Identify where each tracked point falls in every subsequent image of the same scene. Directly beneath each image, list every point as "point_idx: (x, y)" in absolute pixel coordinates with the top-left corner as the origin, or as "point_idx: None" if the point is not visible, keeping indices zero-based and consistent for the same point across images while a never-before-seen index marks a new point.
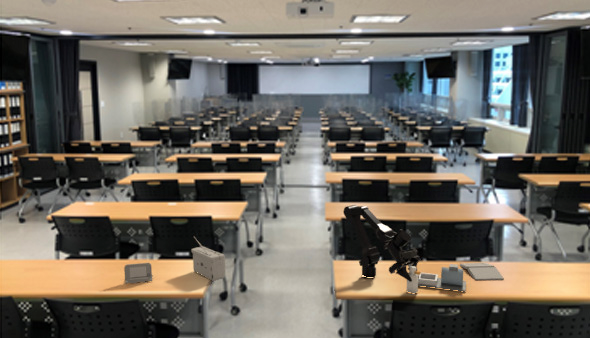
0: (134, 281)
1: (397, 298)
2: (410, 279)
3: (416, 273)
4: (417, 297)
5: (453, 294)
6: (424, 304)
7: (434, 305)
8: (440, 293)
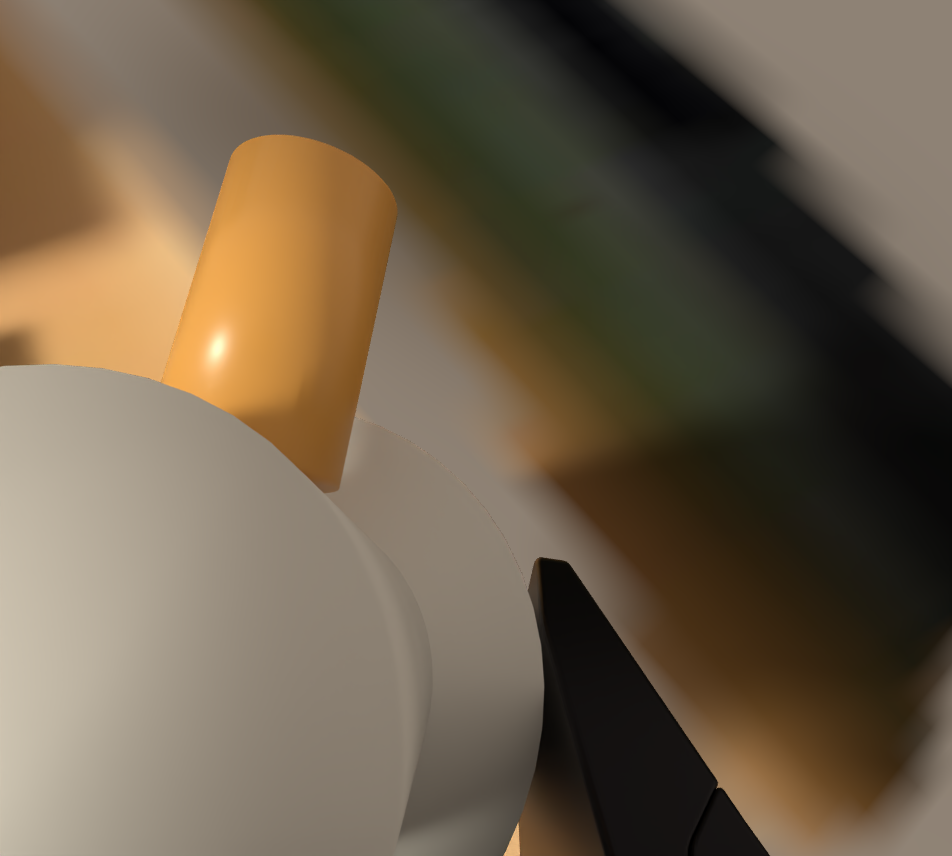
0: None
1: (864, 722)
2: (588, 602)
3: (363, 363)
4: (539, 436)
5: (43, 59)
6: (714, 224)
7: (636, 106)
8: (113, 216)
